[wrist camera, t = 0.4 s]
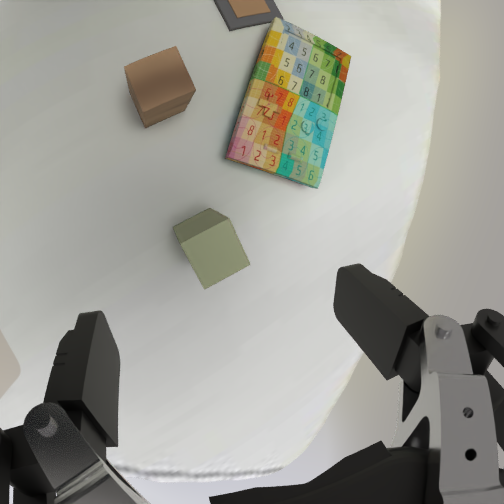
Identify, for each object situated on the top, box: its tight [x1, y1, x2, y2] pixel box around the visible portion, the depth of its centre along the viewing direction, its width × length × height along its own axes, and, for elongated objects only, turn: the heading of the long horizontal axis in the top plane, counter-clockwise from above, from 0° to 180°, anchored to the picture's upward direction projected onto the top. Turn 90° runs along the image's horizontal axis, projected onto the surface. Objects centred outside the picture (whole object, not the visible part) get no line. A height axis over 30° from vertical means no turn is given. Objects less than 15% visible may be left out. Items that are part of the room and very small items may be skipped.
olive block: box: [173, 208, 250, 289], centre depth 32 cm, size 5×5×9 cm
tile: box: [214, 0, 283, 31], centre depth 29 cm, size 8×8×1 cm
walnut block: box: [124, 46, 196, 128], centre depth 26 cm, size 5×5×9 cm
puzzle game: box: [225, 17, 351, 189], centre depth 33 cm, size 12×5×20 cm
